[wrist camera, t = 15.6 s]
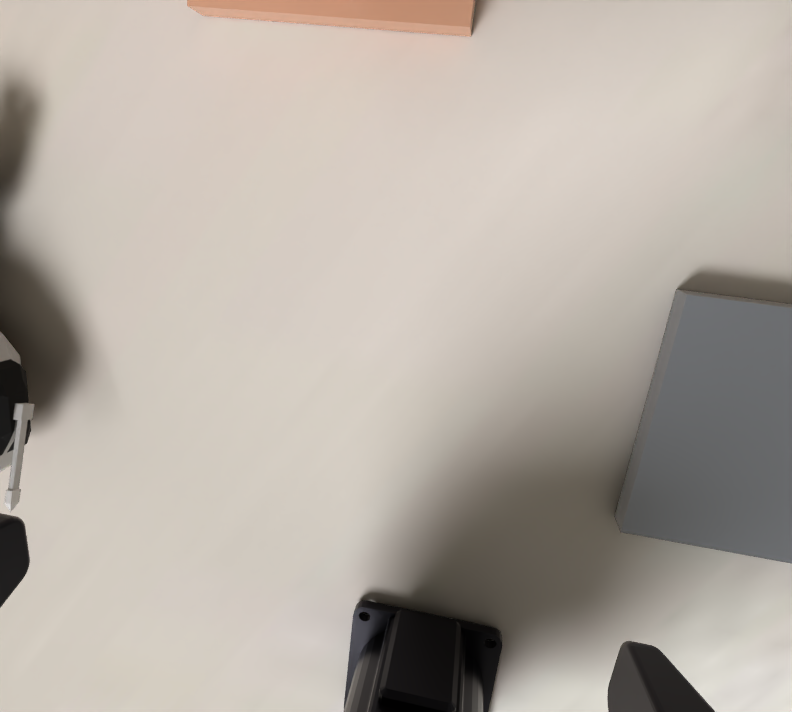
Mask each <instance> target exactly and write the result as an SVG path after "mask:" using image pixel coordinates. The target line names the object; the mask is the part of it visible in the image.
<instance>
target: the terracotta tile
mask: <svg viewBox="0 0 792 712" xmlns="http://www.w3.org/2000/svg"><path fill="white" fill-rule="evenodd" d="M475 2H476V0H187V6H188V7H190V8H192V9H193V10H195V11H196V12H198V13H200V14H201V15H203V16H213V17H226V18H238V19H251V20H264V21H277V22H290V23H303V24H316V25H329V26H341V27H354V28H367V29H380V30H393V31H406V32H419V33H432V34H444V35H457V36H470V37H471V32H472V25H473V17H474V10H475Z"/></svg>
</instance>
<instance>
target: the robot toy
mask: <svg viewBox="0 0 792 712" xmlns="http://www.w3.org/2000/svg"><path fill="white" fill-rule="evenodd" d="M33 412H34V404H31V403H29V402H28V391H27V380H26V371H25V370H24V369H23V368H22V366H21V361H20V355H19V354H18V353H17V351H16V350H15V349H14V347H13V346H12V345H11V344H10V342H9V341H8V340H7V339H6V337H5V336H4V335H3V334H2V333H1V332H0V472H1V471H3V470H4V469H6V468H7V467H9V466H10V465H11V472H10V480H9V488H8V490H6V494H5V502H4V503H5V505H6V506H7V508H8V509H9V511H10V512H11V511H12V510H13V509H14V507H15V506H16V505H17V504H18V502H19V499H20V491H21V489H19V483H20V475H21V468H22V460H23V453H24V445H25V444H27V442H28V438H29V435H30V432H31V426H30V420H32V419H33Z"/></svg>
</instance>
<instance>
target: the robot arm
mask: <svg viewBox="0 0 792 712" xmlns="http://www.w3.org/2000/svg"><path fill="white" fill-rule="evenodd" d="M29 563H30V558H29V550H28V543H27V536H26V529H25V524H24V522H23V521H22V519H20V518H19V517H16V516H11V515H6V514H1V513H0V607H1V606H2V605H3V603H4V602H5V601H6V600H7V598H8V597H9V596H10V595H11V593H12V592H13V591H14V589H15V588H16V587H17V586H18V584H19V583H20V582H21V580H22V579H23V578H24V576H25V574H26V573H27V570H28V567H29ZM362 612H366V613H368V614H369V615H366V614H364V613H362ZM486 639H493V641H488V640H486ZM501 649H502V635H501V633H500V631H499V630H497V629H496V628H493V627H490V626H485V625H480V624H475V623H470V622H466V621H461V620H456V619H451V618H447V617H442V616H437V615H432V614H428V613H423V612H418V611H413V610H409V609H404V608H399V607H394V606H389V605H385V604H380V603H375V602H370V601H361V602H359V603H358V604H357V605H356V608H355V611H354V614H353V623H352V633H351V643H350V652H349V662H348V672H347V682H346V691H345V701H344V712H488V709H489V704H490V700H491V695H492V691H493V686H494V681H495V677H496V672H497V667H498V663H499V658H500V653H501ZM608 710H609V712H715V711H714V710H713V709H712V708H711V706H710V705H709V704H708V703H707V702H706V701H705V700H704V699H703V698H702V696H701V695H700V694H699V693H698V692H697V691H696V690H695V689H694V687H693V686H692V685H691V684H690V683H689V682H688V681H687V680H686V679H685V677H684V676H683V675H682V674H681V673H680V672H679V671H678V670H677V669H676V667H675V666H674V665H673V664H672V663H671V662H670V661H669V660H668V659H667V657H666V656H665V655H664V654H663V653H662V652H661V651H660V650H659V649H658V648H656V647H654V646H652V645H647V644H642V643H637V642H632V641H626V642H624V643H623V644H622V646H621V648H620V650H619V654H618V657H617V660H616V663H615V667H614V670H613V673H612V676H611V680H610V683H609V688H608Z"/></svg>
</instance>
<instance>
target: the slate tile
mask: <svg viewBox="0 0 792 712" xmlns="http://www.w3.org/2000/svg"><path fill="white" fill-rule="evenodd" d="M615 519H616V521H617V524H618V527H619V529H620V532H623V533H629V534H634V535H640V536H645V537H651V538H656V539H661V540H667V541H672V542H678V543H683V544H689V545H694V546H700V547H705V548H711V549H716V550H721V551H727V552H732V553H738V554H743V555H749V556H754V557H760V558H765V559H771V560H776V561H781V562H787V563H792V304H788V303H780V302H772V301H765V300H757V299H749V298H741V297H734V296H726V295H718V294H710V293H702V292H695V291H687V290H679V289H676V293H675V297H674V300H673V304H672V308H671V311H670V315H669V319H668V322H667V326H666V330H665V333H664V337H663V341H662V344H661V348H660V352H659V355H658V359H657V363H656V366H655V370H654V374H653V377H652V381H651V385H650V388H649V392H648V396H647V399H646V403H645V407H644V410H643V414H642V418H641V421H640V425H639V429H638V432H637V436H636V440H635V443H634V447H633V451H632V454H631V458H630V462H629V465H628V469H627V473H626V477H625V480H624V484H623V488H622V491H621V495H620V499H619V502H618V506H617V510H616V513H615Z"/></svg>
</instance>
